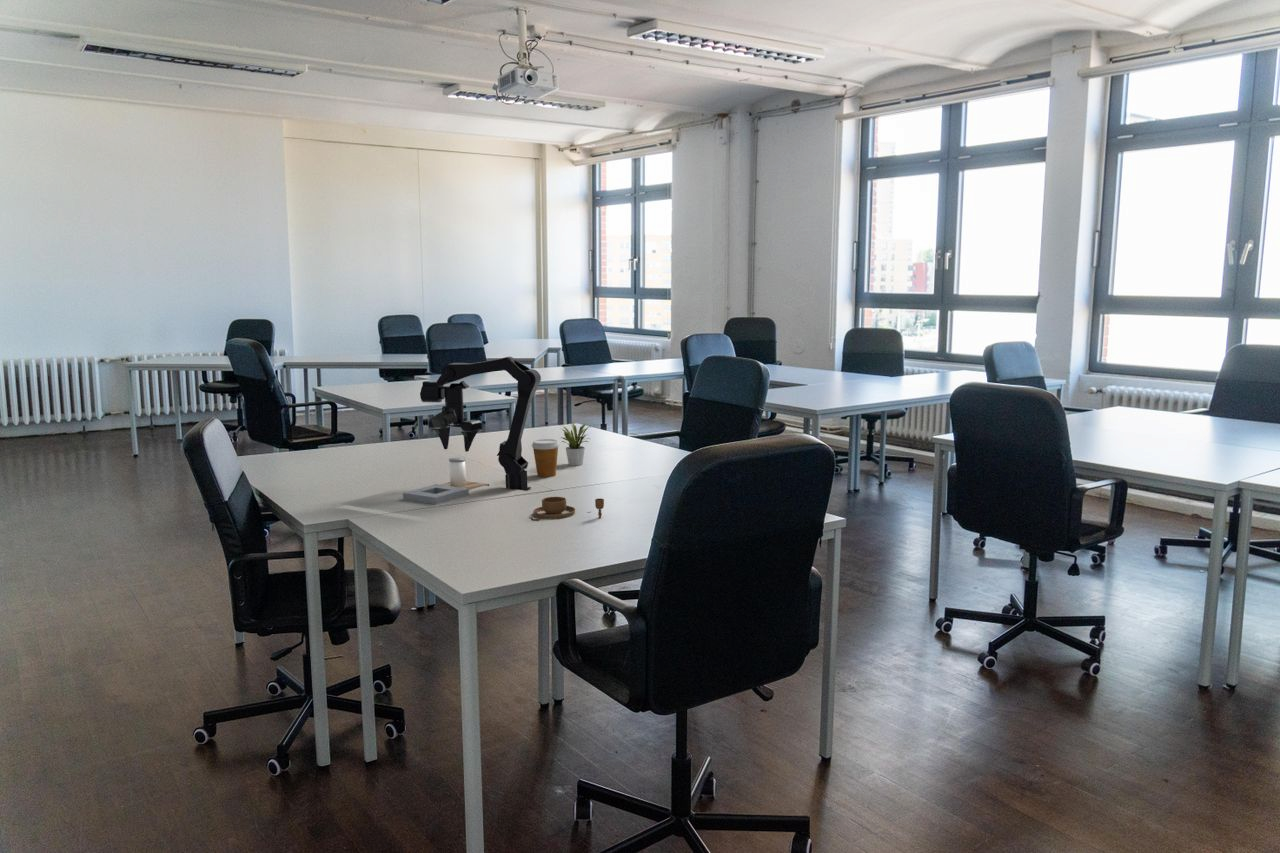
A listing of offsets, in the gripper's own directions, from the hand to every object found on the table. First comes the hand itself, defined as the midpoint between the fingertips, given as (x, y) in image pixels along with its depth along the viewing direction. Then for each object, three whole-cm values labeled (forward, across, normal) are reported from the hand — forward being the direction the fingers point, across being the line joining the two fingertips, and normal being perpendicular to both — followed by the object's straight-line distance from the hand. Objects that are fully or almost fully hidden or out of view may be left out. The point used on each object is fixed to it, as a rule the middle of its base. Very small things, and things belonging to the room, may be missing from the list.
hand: (456, 450), depth 293 cm
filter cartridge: (+12, 0, 0) cm, 12 cm away
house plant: (+13, +10, +53) cm, 56 cm away
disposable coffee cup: (+13, +12, +31) cm, 36 cm away
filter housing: (+13, +5, -15) cm, 20 cm away
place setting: (+13, +52, -12) cm, 55 cm away
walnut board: (+13, 0, 0) cm, 13 cm away
